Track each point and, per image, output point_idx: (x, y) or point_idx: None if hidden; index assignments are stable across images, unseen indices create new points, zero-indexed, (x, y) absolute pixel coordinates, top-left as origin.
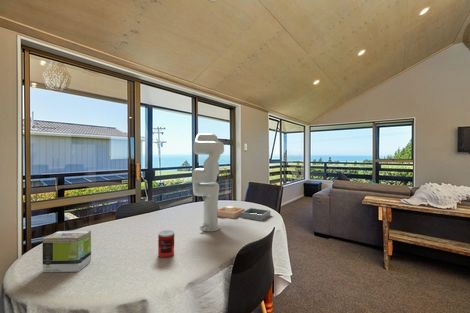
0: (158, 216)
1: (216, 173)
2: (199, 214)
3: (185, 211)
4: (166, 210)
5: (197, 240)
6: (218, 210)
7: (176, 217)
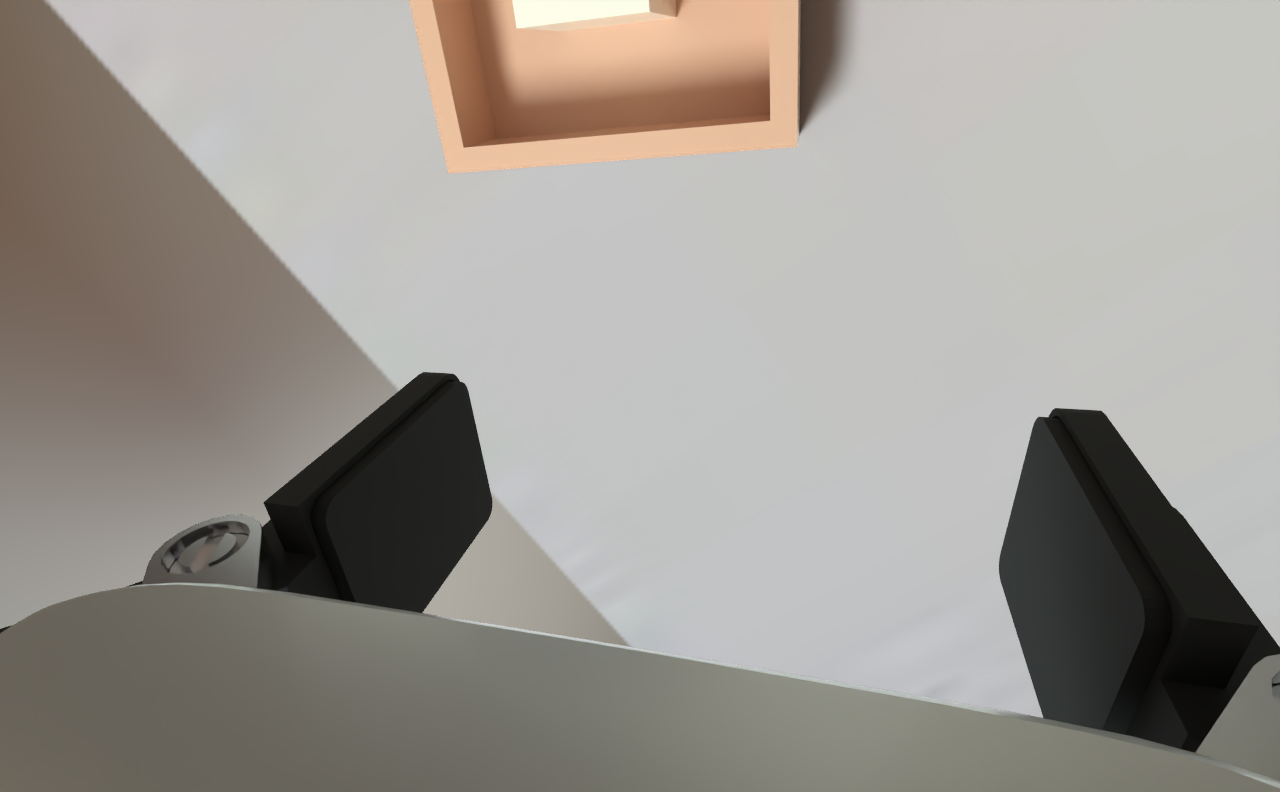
0: None
1: None
2: (830, 370)
3: (801, 571)
4: None
5: None
6: (770, 77)
7: None
